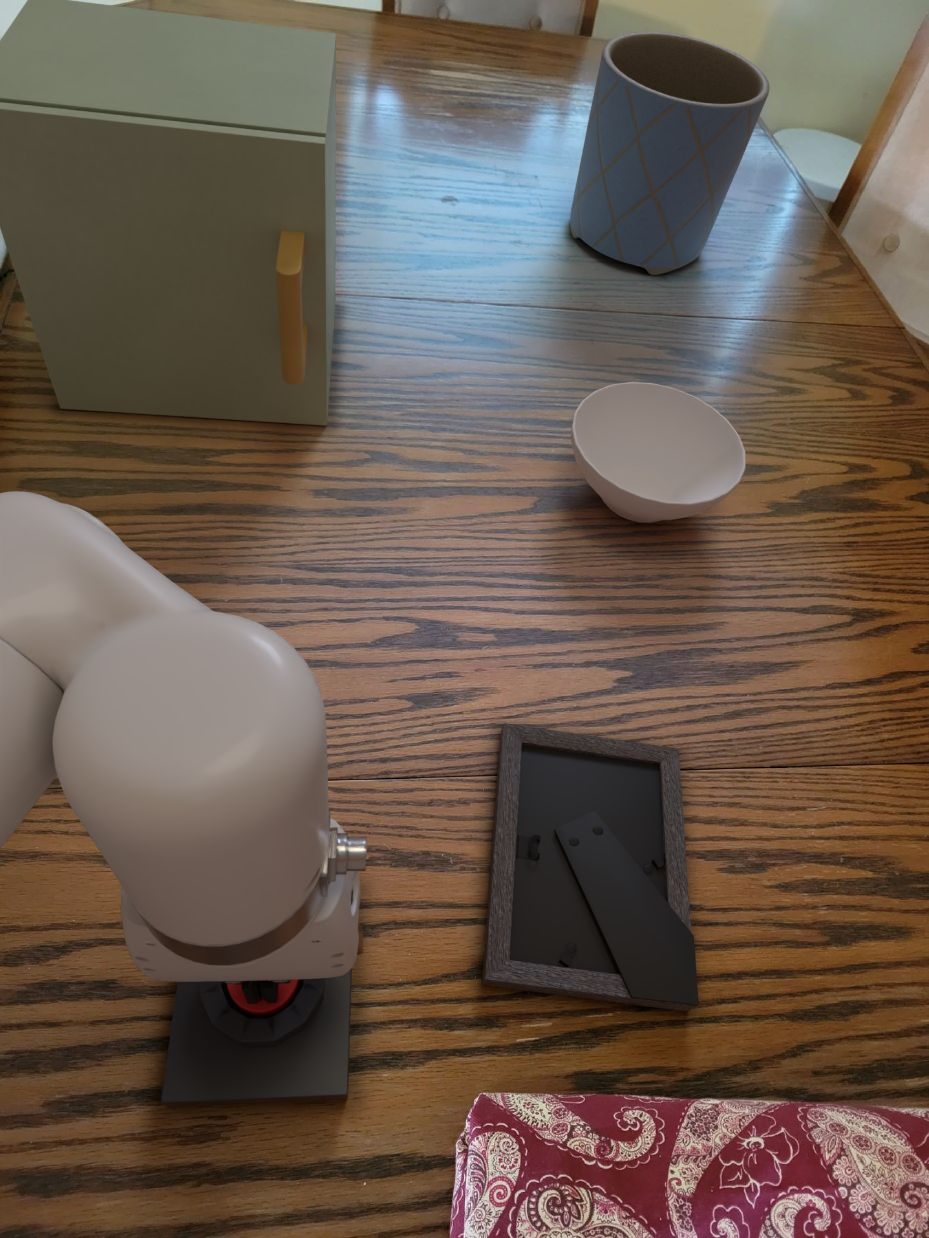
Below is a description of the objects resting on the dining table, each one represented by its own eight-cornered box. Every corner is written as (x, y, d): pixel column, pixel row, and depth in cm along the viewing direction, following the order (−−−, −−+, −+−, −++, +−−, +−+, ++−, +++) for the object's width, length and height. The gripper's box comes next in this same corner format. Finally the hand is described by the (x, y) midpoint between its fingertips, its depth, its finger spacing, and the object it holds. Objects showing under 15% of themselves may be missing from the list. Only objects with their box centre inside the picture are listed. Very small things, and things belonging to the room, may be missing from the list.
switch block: (347, 1100, 48) (348, 1091, 45) (166, 1107, 46) (154, 1098, 43) (353, 890, 55) (354, 869, 52) (196, 892, 53) (187, 870, 50)
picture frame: (687, 1011, 53) (671, 757, 64) (698, 1004, 51) (680, 745, 62) (481, 984, 52) (500, 733, 63) (486, 977, 51) (504, 720, 61)
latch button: (297, 1016, 48) (296, 1010, 46) (225, 1018, 47) (222, 1012, 46) (302, 944, 50) (301, 936, 49) (233, 945, 49) (230, 937, 48)
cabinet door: (324, 469, 77) (320, 185, 56) (44, 453, 74) (-70, 146, 53) (327, 419, 81) (325, 137, 60) (62, 401, 78) (-37, 97, 57)
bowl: (743, 551, 78) (774, 498, 72) (581, 564, 74) (601, 510, 69) (684, 434, 87) (708, 379, 81) (537, 440, 83) (552, 383, 77)
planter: (728, 239, 112) (794, 74, 96) (667, 298, 101) (730, 124, 85) (605, 184, 116) (649, 18, 100) (536, 235, 106) (572, 59, 90)
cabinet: (327, 418, 81) (325, 133, 60) (63, 401, 78) (-37, 93, 57) (335, 309, 92) (336, 33, 70) (103, 289, 88) (30, -5, 67)
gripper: (421, 772, 36) (397, 905, 50) (53, 769, 34) (139, 908, 48) (425, 955, 31) (397, 1043, 46) (1, 964, 29) (114, 1052, 44)
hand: (265, 974), depth 47 cm, fingers closed
